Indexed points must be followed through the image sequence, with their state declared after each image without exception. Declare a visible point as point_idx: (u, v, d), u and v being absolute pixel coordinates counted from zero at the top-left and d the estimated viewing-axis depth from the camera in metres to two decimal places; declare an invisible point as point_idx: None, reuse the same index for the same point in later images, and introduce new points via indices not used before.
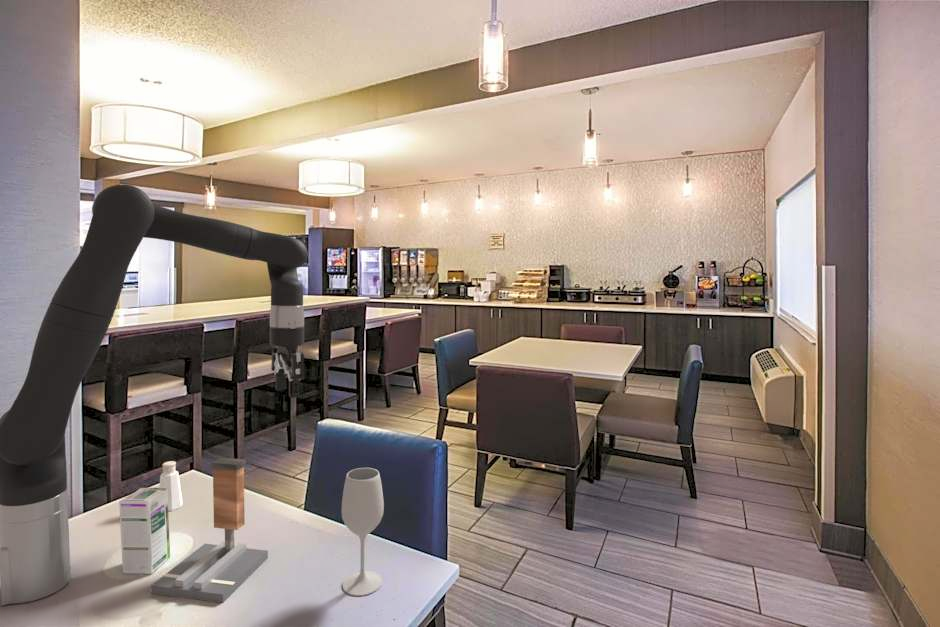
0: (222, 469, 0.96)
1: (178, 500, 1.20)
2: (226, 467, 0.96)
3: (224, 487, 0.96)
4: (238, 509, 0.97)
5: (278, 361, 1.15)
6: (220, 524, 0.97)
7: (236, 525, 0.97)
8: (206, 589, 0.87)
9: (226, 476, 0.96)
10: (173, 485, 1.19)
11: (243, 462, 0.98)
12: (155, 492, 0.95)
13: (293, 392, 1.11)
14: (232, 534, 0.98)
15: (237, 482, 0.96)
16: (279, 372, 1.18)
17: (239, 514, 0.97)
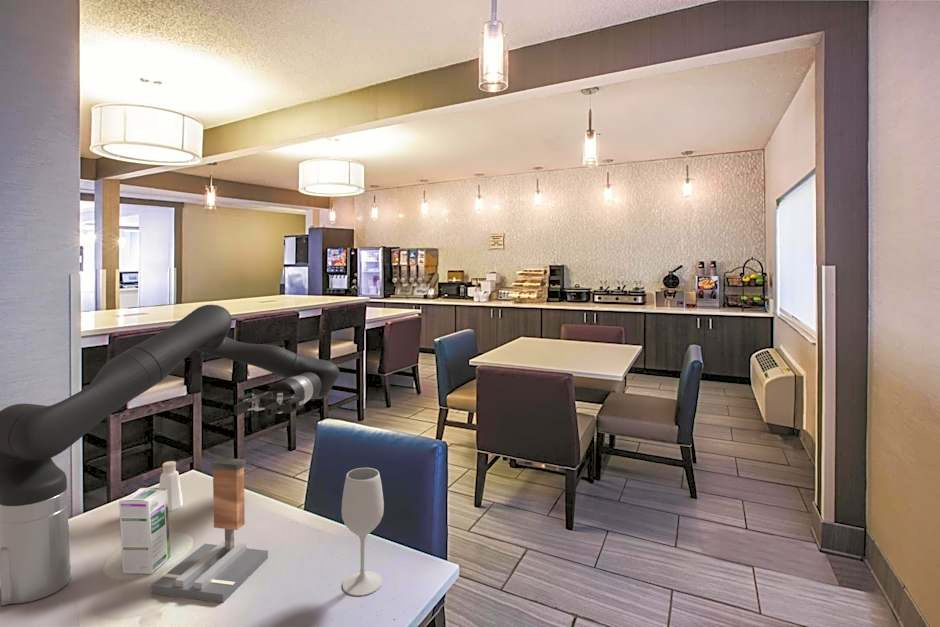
0: (222, 469, 0.96)
1: (178, 500, 1.20)
2: (226, 467, 0.96)
3: (224, 487, 0.96)
4: (238, 509, 0.97)
5: (265, 395, 1.12)
6: (220, 524, 0.97)
7: (236, 525, 0.97)
8: (206, 589, 0.87)
9: (226, 476, 0.96)
10: (173, 485, 1.19)
11: (243, 462, 0.98)
12: (155, 492, 0.95)
13: (273, 408, 1.05)
14: (232, 534, 0.98)
15: (237, 482, 0.96)
16: (248, 403, 1.09)
17: (239, 514, 0.97)
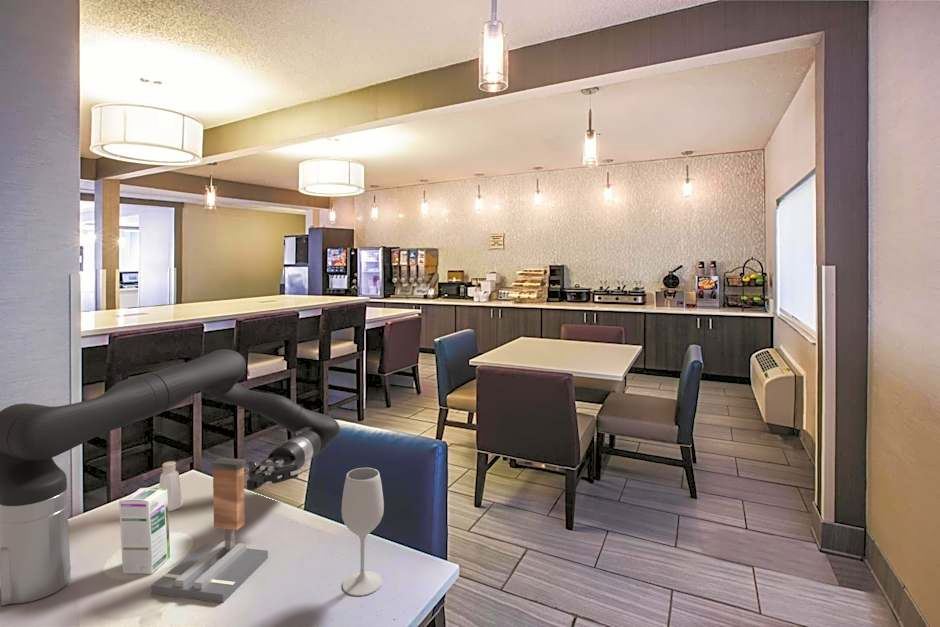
0: (222, 469, 0.96)
1: (178, 500, 1.20)
2: (226, 467, 0.96)
3: (224, 487, 0.96)
4: (238, 509, 0.97)
5: (270, 463, 1.13)
6: (220, 524, 0.97)
7: (236, 525, 0.97)
8: (206, 589, 0.87)
9: (226, 476, 0.96)
10: (173, 485, 1.19)
11: (243, 462, 0.98)
12: (155, 493, 0.95)
13: (259, 481, 1.06)
14: (232, 534, 0.98)
15: (237, 482, 0.96)
16: None
17: (239, 514, 0.97)
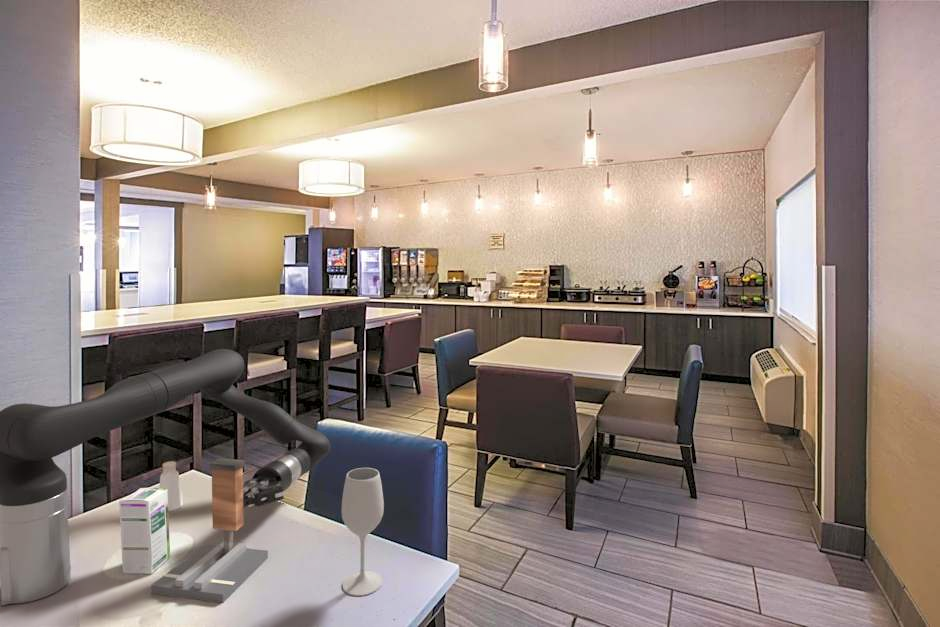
0: (221, 470, 0.96)
1: (178, 500, 1.20)
2: (225, 468, 0.95)
3: (223, 488, 0.96)
4: (237, 510, 0.96)
5: (254, 484, 1.07)
6: (219, 525, 0.97)
7: (235, 526, 0.96)
8: (206, 589, 0.87)
9: (225, 477, 0.96)
10: (173, 485, 1.19)
11: (242, 463, 0.97)
12: (155, 492, 0.95)
13: None
14: (231, 535, 0.98)
15: (236, 482, 0.96)
16: None
17: (238, 515, 0.97)
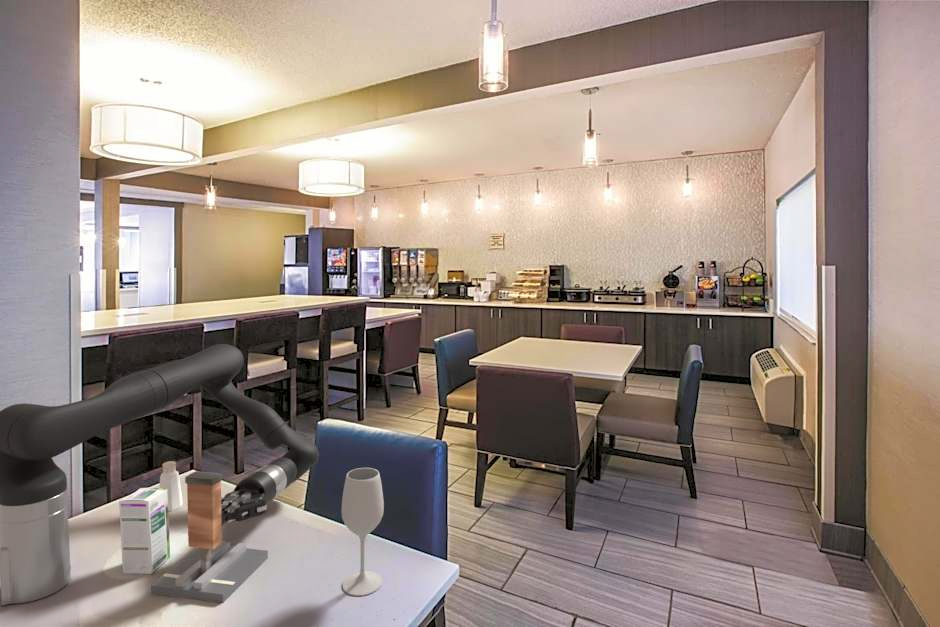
0: (197, 484, 0.89)
1: (178, 500, 1.20)
2: (201, 482, 0.89)
3: (199, 503, 0.89)
4: (214, 527, 0.90)
5: (235, 497, 1.01)
6: (195, 543, 0.90)
7: (212, 544, 0.90)
8: (206, 589, 0.87)
9: (201, 492, 0.89)
10: (173, 485, 1.19)
11: (220, 476, 0.91)
12: (155, 492, 0.95)
13: None
14: (208, 553, 0.91)
15: (213, 497, 0.89)
16: None
17: (215, 532, 0.90)
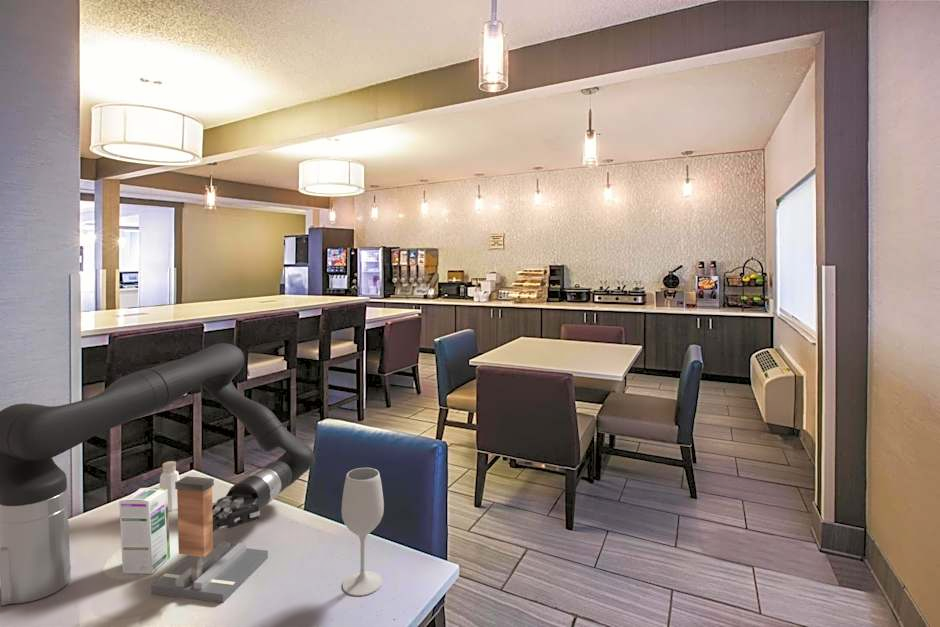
0: (187, 490, 0.87)
1: None
2: (191, 487, 0.86)
3: (189, 510, 0.87)
4: (205, 534, 0.87)
5: (227, 502, 0.98)
6: (185, 550, 0.88)
7: (203, 551, 0.87)
8: (206, 589, 0.87)
9: (191, 498, 0.87)
10: (173, 485, 1.19)
11: (211, 481, 0.88)
12: (155, 493, 0.95)
13: None
14: (199, 561, 0.89)
15: (204, 503, 0.87)
16: None
17: (206, 539, 0.88)
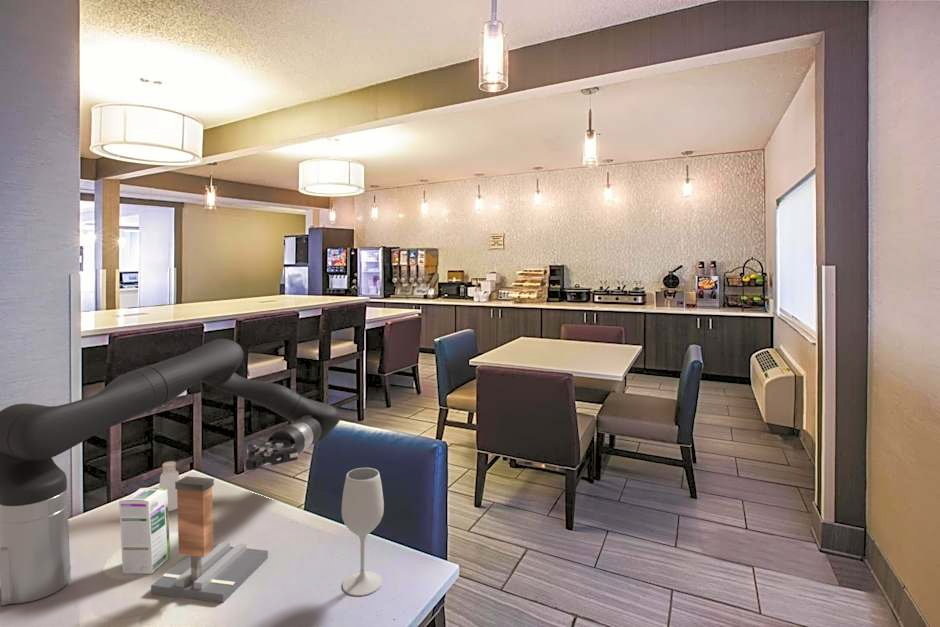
0: (187, 490, 0.87)
1: None
2: (191, 487, 0.86)
3: (189, 510, 0.87)
4: (205, 534, 0.87)
5: (270, 445, 1.13)
6: (185, 550, 0.88)
7: (203, 551, 0.87)
8: (206, 589, 0.87)
9: (191, 498, 0.87)
10: (173, 485, 1.19)
11: (211, 481, 0.88)
12: (155, 492, 0.95)
13: (258, 461, 1.05)
14: (199, 561, 0.89)
15: (204, 503, 0.87)
16: None
17: (206, 539, 0.88)
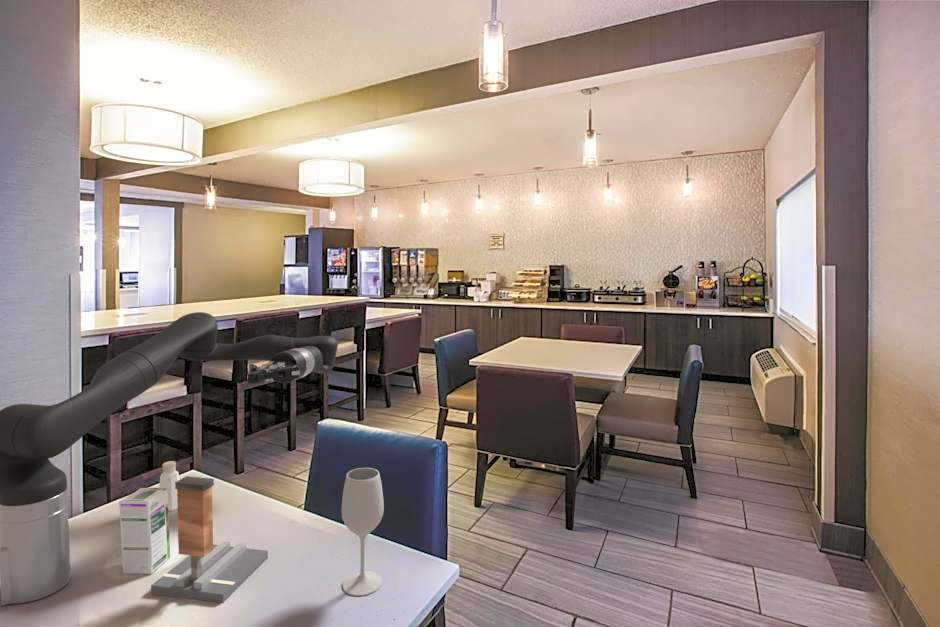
0: (187, 490, 0.87)
1: None
2: (191, 487, 0.86)
3: (189, 510, 0.87)
4: (205, 534, 0.87)
5: (271, 364, 1.13)
6: (185, 550, 0.88)
7: (203, 551, 0.87)
8: (206, 589, 0.87)
9: (191, 498, 0.87)
10: (173, 485, 1.19)
11: (211, 481, 0.88)
12: (155, 492, 0.95)
13: (260, 375, 1.05)
14: (199, 561, 0.89)
15: (204, 503, 0.87)
16: None
17: (206, 539, 0.88)
